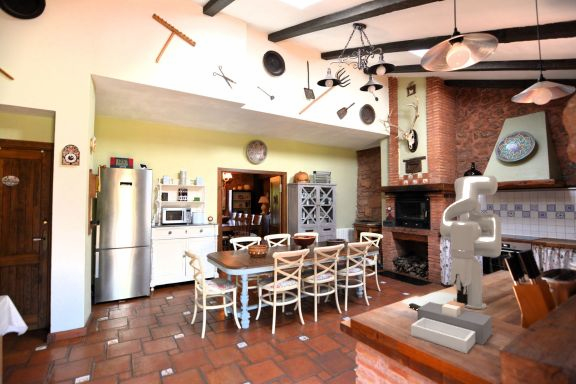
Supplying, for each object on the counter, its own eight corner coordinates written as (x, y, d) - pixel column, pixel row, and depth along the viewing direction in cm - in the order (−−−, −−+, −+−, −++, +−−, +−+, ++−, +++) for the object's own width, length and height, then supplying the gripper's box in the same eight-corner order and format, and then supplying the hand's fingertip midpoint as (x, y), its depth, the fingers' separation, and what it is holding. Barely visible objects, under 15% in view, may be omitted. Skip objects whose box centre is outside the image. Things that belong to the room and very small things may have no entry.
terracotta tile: (450, 307, 108) (450, 300, 108) (464, 310, 105) (464, 303, 105) (446, 310, 105) (446, 303, 105) (460, 313, 102) (460, 306, 102)
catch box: (422, 327, 104) (423, 317, 104) (475, 343, 93) (475, 331, 93) (411, 335, 97) (411, 324, 97) (466, 353, 85) (466, 341, 86)
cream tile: (446, 310, 104) (446, 303, 105) (460, 314, 101) (460, 306, 101) (442, 313, 101) (442, 306, 101) (456, 317, 98) (456, 309, 98)
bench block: (429, 317, 114) (429, 301, 114) (491, 334, 100) (491, 316, 100) (417, 325, 105) (417, 308, 106) (483, 345, 91) (483, 325, 92)
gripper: (456, 251, 119) (457, 298, 118) (444, 255, 109) (444, 305, 108) (478, 254, 114) (478, 302, 113) (467, 257, 104) (468, 311, 102)
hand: (462, 304), depth 110 cm, fingers closed
